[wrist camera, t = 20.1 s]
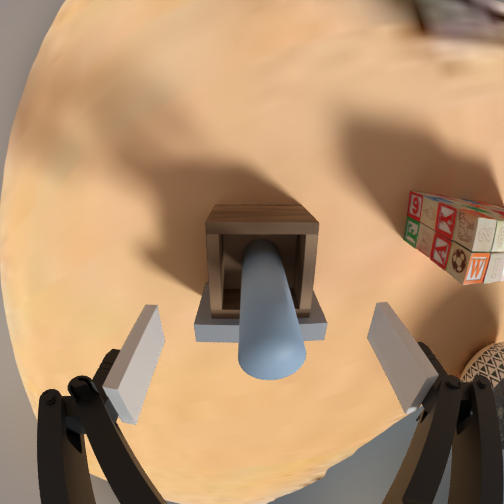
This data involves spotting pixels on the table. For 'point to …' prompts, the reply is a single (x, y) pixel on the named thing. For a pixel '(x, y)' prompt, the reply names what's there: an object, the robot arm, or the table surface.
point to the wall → (229, 328)
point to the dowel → (267, 316)
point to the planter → (490, 375)
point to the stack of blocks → (458, 236)
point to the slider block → (256, 228)
